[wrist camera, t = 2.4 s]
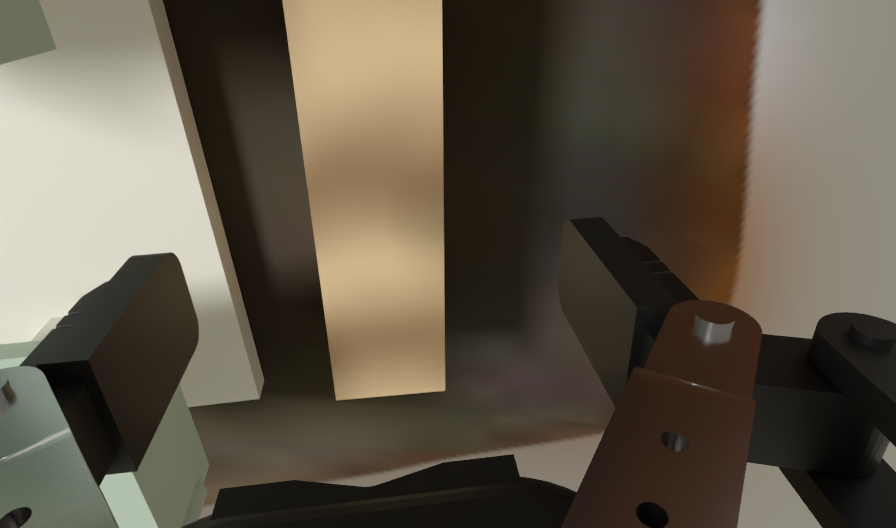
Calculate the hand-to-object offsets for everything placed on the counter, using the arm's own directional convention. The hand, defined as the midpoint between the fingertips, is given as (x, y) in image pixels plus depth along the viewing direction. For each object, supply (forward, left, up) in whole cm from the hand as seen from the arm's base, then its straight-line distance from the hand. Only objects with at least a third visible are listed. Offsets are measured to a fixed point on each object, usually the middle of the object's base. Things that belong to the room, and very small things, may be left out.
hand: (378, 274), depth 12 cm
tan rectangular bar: (0, 0, -10) cm, 10 cm away
